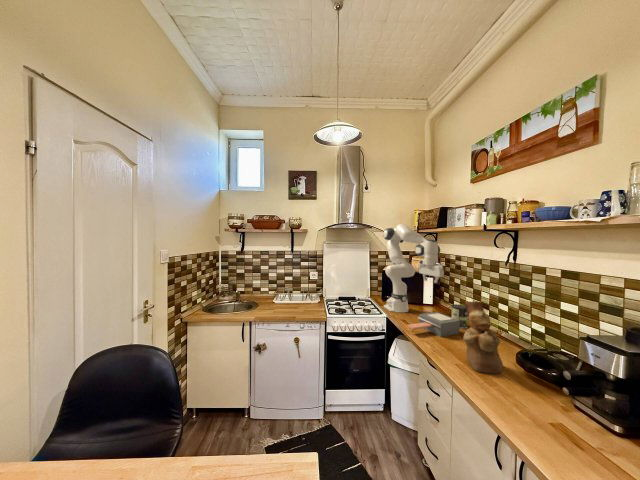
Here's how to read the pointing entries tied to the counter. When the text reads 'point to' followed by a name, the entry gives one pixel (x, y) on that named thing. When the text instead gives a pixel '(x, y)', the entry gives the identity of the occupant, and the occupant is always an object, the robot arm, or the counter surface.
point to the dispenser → (440, 324)
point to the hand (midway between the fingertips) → (430, 281)
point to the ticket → (420, 325)
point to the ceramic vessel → (481, 341)
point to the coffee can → (460, 315)
